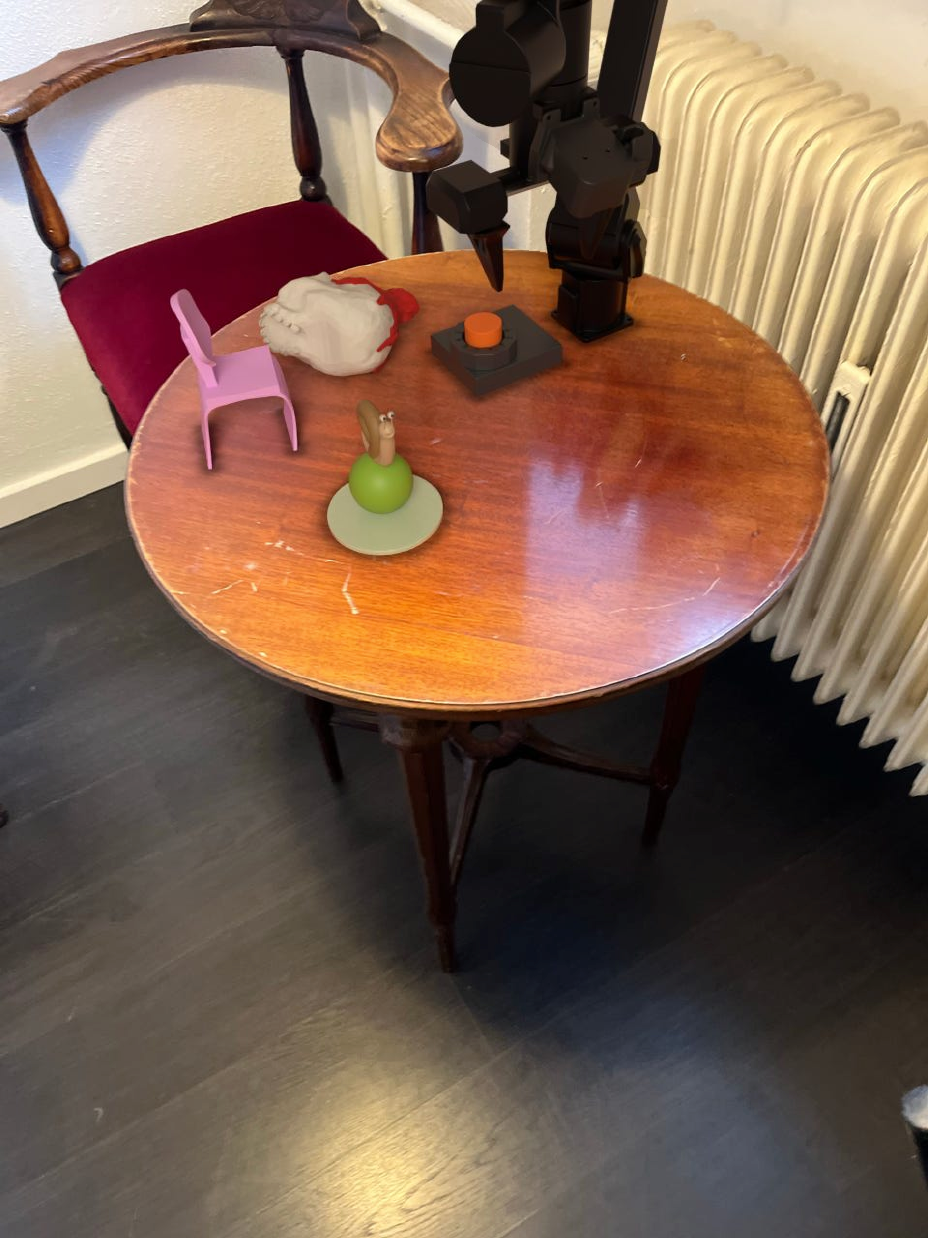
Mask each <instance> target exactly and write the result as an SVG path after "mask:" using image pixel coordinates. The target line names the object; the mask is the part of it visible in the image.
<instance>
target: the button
mask: <svg viewBox="0 0 928 1238" xmlns="http://www.w3.org/2000/svg"><path fill="white" fill-rule="evenodd" d="M464 321H465V322H464V329H465V341H466V343H467V344H468V345H470V346H473V347H477V348H484V347H492V346H494V345H497V344H499V343H500V342H501V340H502V321H501V319H500V318H499V317H498V316H497V315H495V314H492V313H491V312H485V311H484V312H482V311H481V312H475V313H473V314H471V315H468V317H466V318H465V320H464Z"/></svg>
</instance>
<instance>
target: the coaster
mask: <svg viewBox="0 0 928 1238" xmlns="http://www.w3.org/2000/svg"><path fill="white" fill-rule="evenodd" d="M412 474H413V473H412ZM443 515H444V505H443V499H442V497H441V494H440V492H439V491H438V490H437V488H436V487H435V486H434V485H433V484H432V483H430V482H429V481H428V480H427V479H425V478H423V477H420V476H418V475H416V474H413V489H412V493H411V495H410V497H409V499H408V500H407V502H406V503H405V504H404V505H403V506H402V507H401V508H399V509H398V510H396V511H394V512H391V513H387V514H376V513H372V512H369V511H367V510H365V509H363V508H362V507H361V506H360V505H359V504H358V503H357V502H356V501H355V500H354V498H353V496H352V494H351V492H350V489H349V482H348V483H346V484H344V485H343V486H342V487H340V488H339V490H338V491H337V492H336V493H335V494H334V495H333V496H332V498H331V500H330V502H329V504H328V507H327V511H326V519H327V526H328V528H329V531H330V533H331V535H332V536H333V537H334V539H335V540H336V541H337V542H339V544H341V545H342V546H343V547H345V548H347V549H349V550H351V551H354V552H356V553H359V554H363V555H368V556H369V555H370V556H391V555H396V554H401V553H404V552H408V551H411V550H413V549H414V548H416V547H418V546H420V545H422V544H423V543H425V542H426V541H427V540H429V538H431V537H432V536H433V535H434V533H435V532H436V531H437V529H438V528H439V527H440V525H441V522H442V520H443Z"/></svg>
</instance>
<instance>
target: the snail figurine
mask: <svg viewBox="0 0 928 1238" xmlns="http://www.w3.org/2000/svg"><path fill="white" fill-rule="evenodd" d="M355 411H356V419H357V422H358V424H359V427H360V430H361V439H362V443H363V446H364V448H365V452H364V453H362V454H360V456H358V457H357V458H356V459H355V460H354V462H353V464H352V465H351V467H350V470H349V473H348V483H349V489H350V492H351V494H352V496H353V498H354V500H355V501H356V502H357V503H358V504H359V505H360V506H361V507H362V508H363V509H365V510H367V511H369V512H372V513H376V514H387V513H391V512H394V511H396V510H398V509H399V508H401V507H402V506H403V505H404V504H405V503H406V502H407V500H408V499H409V497H410V495H411V493H412V489H413V471H412V468H411V466H410V464H409V462H408V461H407V460H406V459H405V458H404V457H403V456H402V455H401V454H399V452H396V440H395V434H396V427H395V426H394V424H393V423H394V422H393V418H394V417H395V413H394V411H393V410H389V411H388V412H387V413H386V414H384V413H381V412H380V410H379V408H378V407H377V405H376V404H375V403H374V402H373V401H372V400H370V399H365V398H364V399H361V400H360V401H358V403H357V405H356V409H355ZM387 418H388V419H390V420H387Z"/></svg>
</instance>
